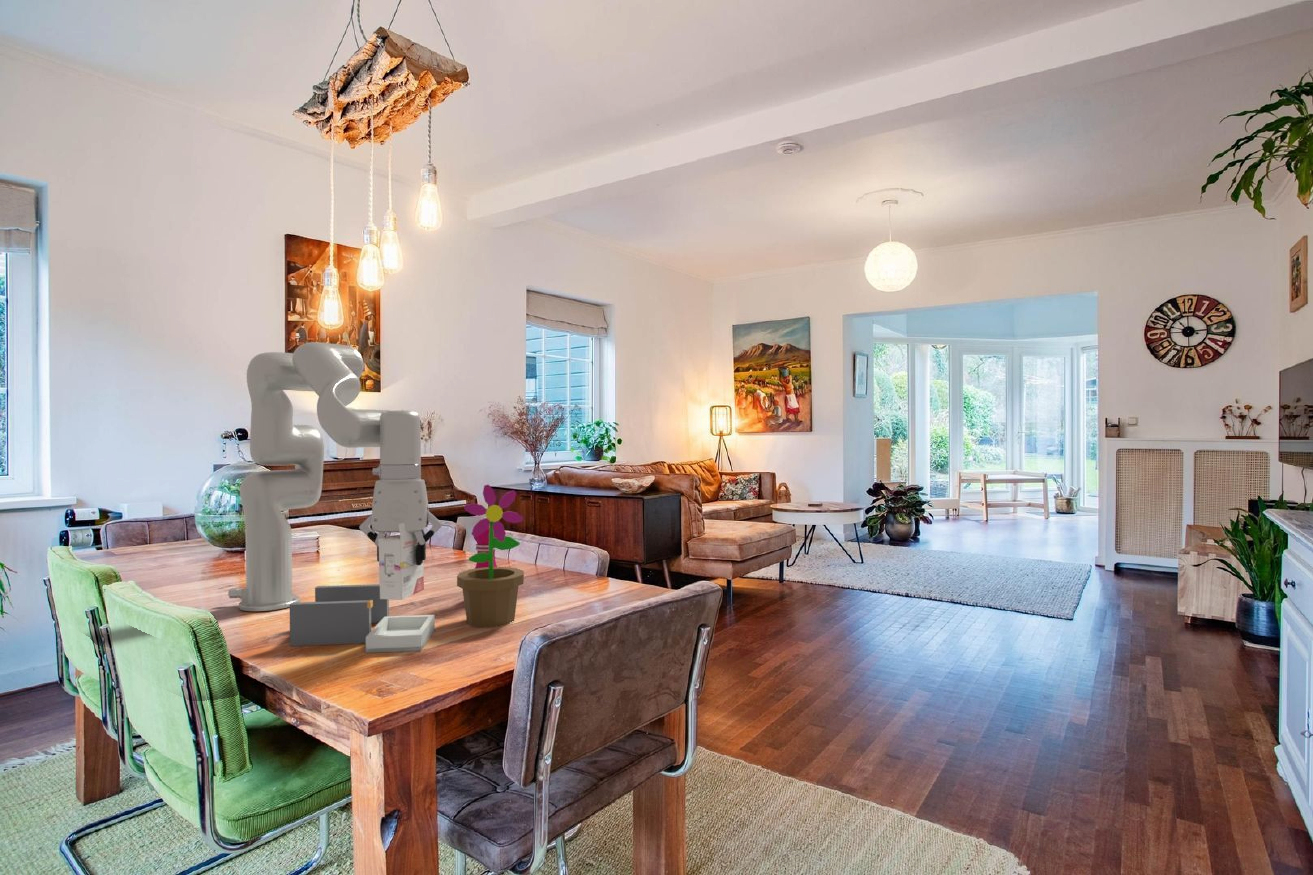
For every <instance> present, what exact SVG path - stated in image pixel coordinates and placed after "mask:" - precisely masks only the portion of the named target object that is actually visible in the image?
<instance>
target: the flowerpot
mask: <svg viewBox="0 0 1313 875" xmlns="http://www.w3.org/2000/svg"><path fill="white" fill-rule="evenodd" d="M482 490H483V491H482V495H483V499H484V502H485V503H486V504H487V505H488V507H487V508H486V507H485V506H483V505H482V504H479V503H473V502H472V503H468V504H465V505H464V508H463V509H464V510H465V511H466V512H468V513H469V514H470V515H473V516H474V515H475V516H484V515H485V517H486V518H485V517H484V518H485V519H483V518H482V519H480V520H479V521H477V523H475V524H474V525H473V527H472V528H473V529H472V531H471V535H472V537H473V538H474V537H476V536H478V535H481V534H483V533H484V532H485V530H486V529H487V528H488V527H489V524H490V528H489V553H483V552H482V553H477V552H476V553H475V554H473V555H471V556H469V557H468V561H469V562H473V563H476V564H477V563H483V562H486V561H488V560H489V567H484V568H477V569H475V568H469V569H467V570H464V571H461V572H459V573H458V574H457V576H456V587H459V588H460V589H462V593H463V594H462V596H463V604H464V609H465V610H464V611H465V617H466V618H465V619H466V624H468V625H470V626H471V625H472V626H471V627H476V626H477V627H478V628H497V627H502V626H501V625H503V626H507V625H509V624H511V623H510V622H512V621H514V622H515V619H516V618H515V617H516V612H517V610H516V609H517V600H518V595H519V586H522V585H524V582H525V577H524V576H525V570H523V569H519V568H516V567H509V566H507V567H506V566H497V567H493V547H494V548H497V549H496V550H501V551H506V550H512V549H514V548H516V547H518V546H520V542H519V541H518V540H517V539H515V538H514V537H512V536H508V535H506V530H505V527H504V526H505V525H504V524H503V523H502V522H501V521H500V520H501V519H503V520H504V521H506V522H508V523H511V524H517V523H521V522H523V521H524V520H523V519H524V517H523V516H522V515H521V514H519V513H518V512H515V511H510V510H507V511H504V512H503V509H507V508H508V507H509V506H510V505H512V503H513V502H514V501H515V499H516V496H517V492H516V490H510V491H508V492H506V493H505V494H504V495H502V497H501V498H500V499H499V503H498V505H497V504H495V503H496V500H497V497H496V494H495V490H494V489H493V488H492V486H490V484H486V485H485V484H484V485H483V489H482ZM493 535H495V538H493ZM512 623H513V622H512ZM496 626H497V627H496Z"/></svg>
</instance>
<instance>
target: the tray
mask: <svg viewBox="0 0 1313 875" xmlns="http://www.w3.org/2000/svg"><path fill="white" fill-rule="evenodd" d="M435 620H436V616H435V614H423V615H422V614H421V615H420V614H418V615H416V614H415V615H414V614H413V615H396V616H395V615H391V616H390V615H389V616H386V617H384V618H383V619H382V620H381V621H380V622H379V623H376V625H375V626H374V628H373V629H371V632H370V633H369V634H368V635H367V636H366V643H365V654H375V653H376V654H378V653H379V654H380V653H397V652H398V653H399V652H400V653H401V652H419V651H420V652H421V651H423V650H424V647H425V646H426V644H427V642H428V641H429V639H430V638H431V636H432V634H433V633H434V631H435V630H436V628H435V627H436V626H435V624H436V623H435V622H436V621H435Z"/></svg>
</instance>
